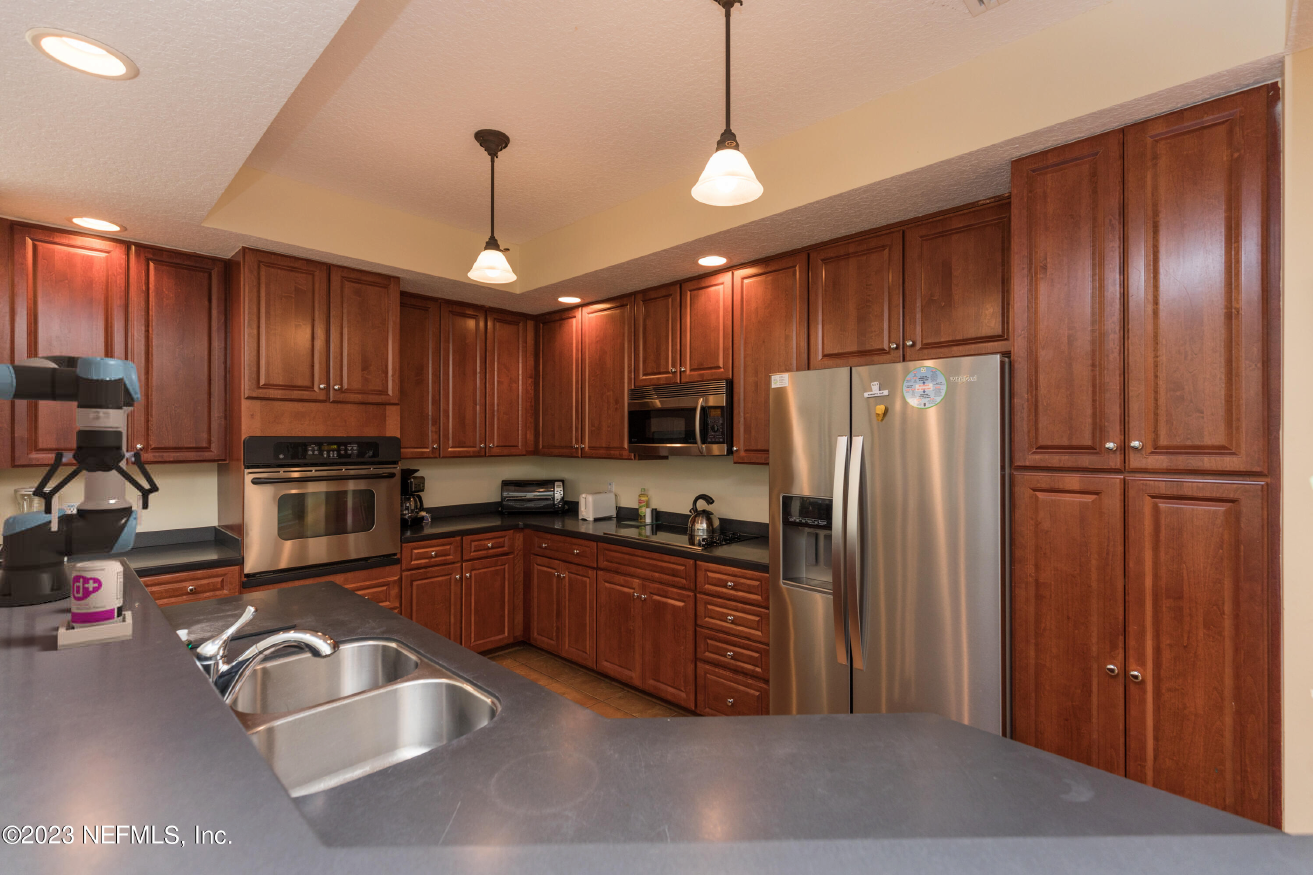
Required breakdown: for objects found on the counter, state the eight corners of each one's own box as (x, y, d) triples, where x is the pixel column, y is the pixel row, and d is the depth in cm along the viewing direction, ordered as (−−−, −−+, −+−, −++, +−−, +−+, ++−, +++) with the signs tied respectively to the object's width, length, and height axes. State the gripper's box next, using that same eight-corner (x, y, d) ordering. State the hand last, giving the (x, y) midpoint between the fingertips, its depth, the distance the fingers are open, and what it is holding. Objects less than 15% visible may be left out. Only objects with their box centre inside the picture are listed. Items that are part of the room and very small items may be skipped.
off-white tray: (61, 636, 134) (61, 619, 134) (130, 626, 142) (130, 610, 142) (57, 650, 125) (57, 632, 125) (131, 638, 133) (132, 622, 133)
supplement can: (97, 639, 129) (99, 567, 130) (59, 638, 130) (60, 566, 130) (132, 627, 138) (133, 559, 138) (95, 626, 138) (97, 559, 138)
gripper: (15, 427, 123) (13, 534, 123) (174, 430, 139) (172, 524, 139) (19, 427, 128) (17, 529, 128) (171, 430, 145) (170, 520, 145)
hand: (98, 527), depth 134 cm, fingers open, 13 cm apart
